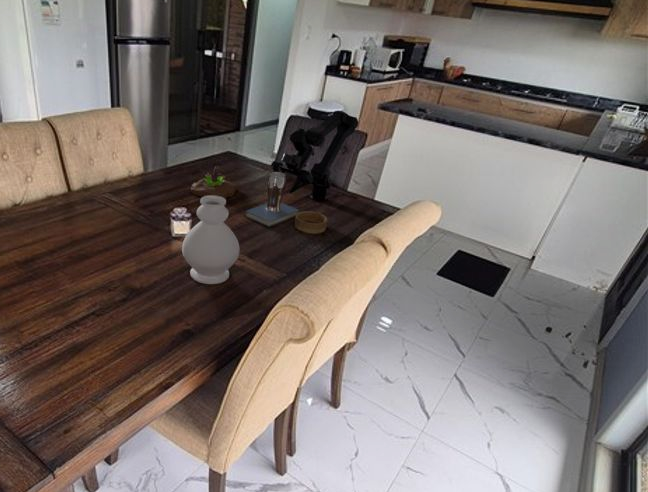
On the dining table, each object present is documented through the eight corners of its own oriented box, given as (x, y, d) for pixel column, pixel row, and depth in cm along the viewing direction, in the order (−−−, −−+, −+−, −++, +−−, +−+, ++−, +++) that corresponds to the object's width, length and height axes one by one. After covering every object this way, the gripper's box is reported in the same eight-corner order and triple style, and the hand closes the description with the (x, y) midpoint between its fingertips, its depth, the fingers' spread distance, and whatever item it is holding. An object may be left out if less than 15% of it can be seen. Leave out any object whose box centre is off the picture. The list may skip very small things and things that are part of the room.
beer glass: (284, 210, 189) (289, 174, 181) (276, 215, 184) (280, 178, 176) (270, 205, 192) (274, 170, 184) (261, 210, 187) (265, 174, 179)
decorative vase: (195, 293, 137) (197, 216, 123) (173, 266, 150) (173, 193, 136) (247, 282, 144) (254, 207, 130) (222, 256, 157) (226, 186, 143)
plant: (242, 188, 214) (244, 165, 208) (225, 202, 199) (226, 176, 193) (204, 180, 220) (205, 157, 214) (184, 192, 205) (185, 168, 199)
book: (274, 205, 199) (275, 200, 198) (298, 215, 192) (299, 209, 190) (245, 216, 187) (245, 210, 186) (269, 227, 180) (270, 221, 179)
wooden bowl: (288, 222, 185) (290, 213, 183) (314, 218, 190) (315, 209, 187) (305, 235, 176) (307, 225, 173) (331, 231, 181) (333, 221, 178)
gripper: (276, 140, 185) (255, 172, 184) (313, 151, 175) (292, 185, 174) (285, 156, 194) (266, 187, 194) (322, 168, 184) (301, 200, 183)
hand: (280, 189), depth 186 cm, fingers open, 9 cm apart
